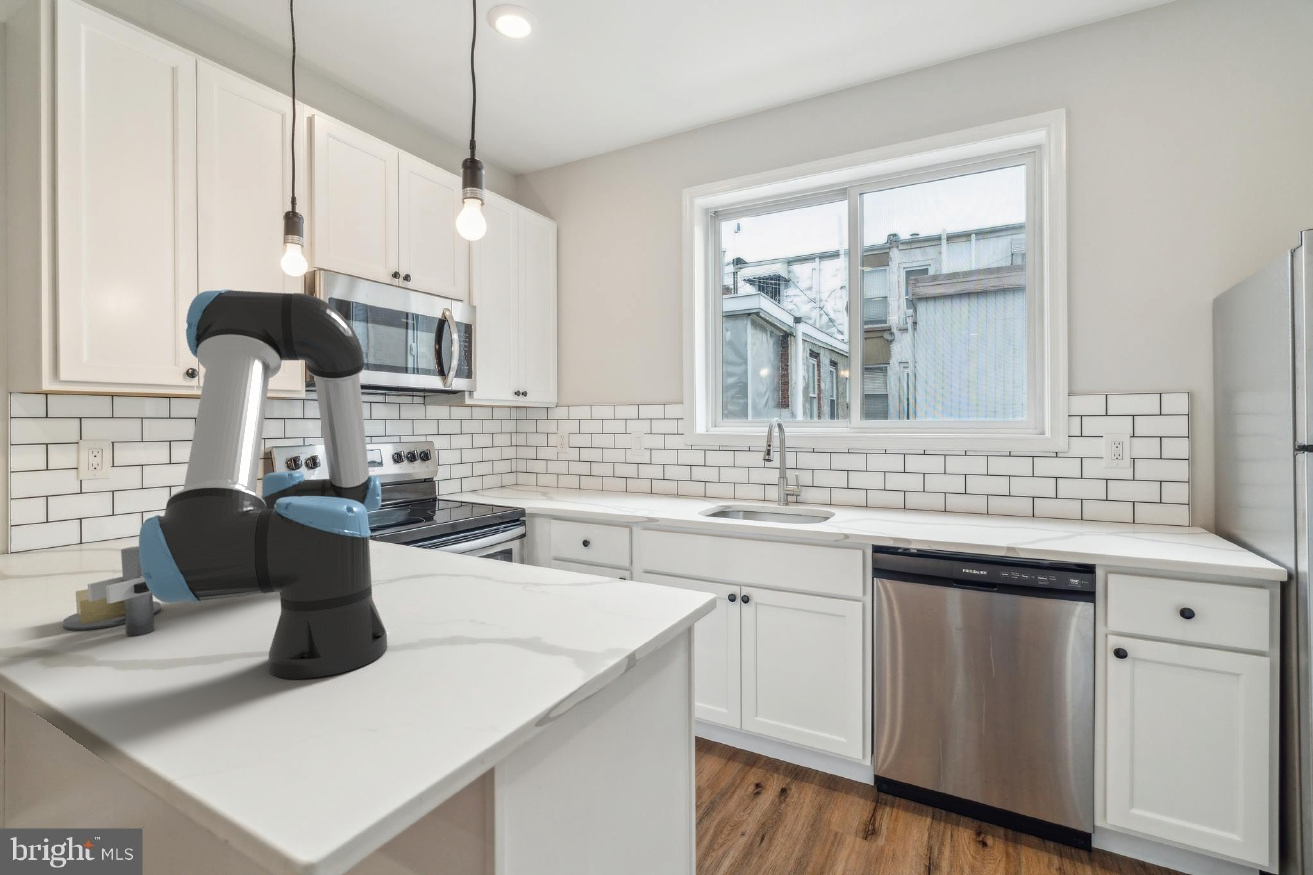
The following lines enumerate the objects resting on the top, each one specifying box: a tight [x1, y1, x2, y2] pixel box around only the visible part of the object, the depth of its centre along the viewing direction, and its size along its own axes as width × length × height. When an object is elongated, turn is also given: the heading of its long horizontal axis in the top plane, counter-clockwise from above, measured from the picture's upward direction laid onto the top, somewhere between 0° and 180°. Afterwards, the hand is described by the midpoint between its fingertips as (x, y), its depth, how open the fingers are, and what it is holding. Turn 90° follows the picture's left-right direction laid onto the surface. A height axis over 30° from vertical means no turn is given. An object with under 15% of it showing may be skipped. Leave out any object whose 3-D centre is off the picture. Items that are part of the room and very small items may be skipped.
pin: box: [120, 545, 156, 637], centre depth 101 cm, size 4×4×14 cm
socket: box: [62, 588, 162, 632], centre depth 109 cm, size 13×13×5 cm
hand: (99, 593), depth 96 cm, fingers closed on pin, 4 cm apart
